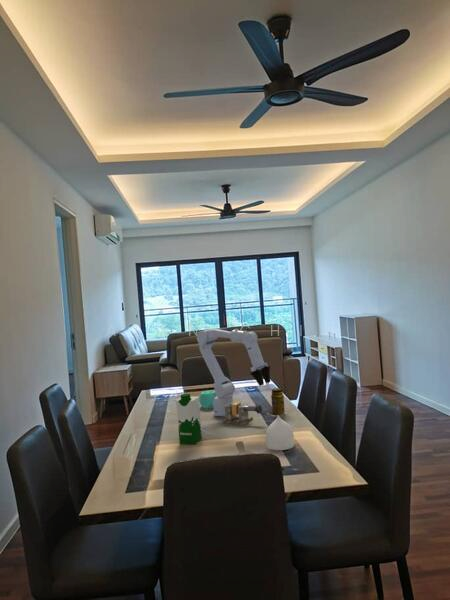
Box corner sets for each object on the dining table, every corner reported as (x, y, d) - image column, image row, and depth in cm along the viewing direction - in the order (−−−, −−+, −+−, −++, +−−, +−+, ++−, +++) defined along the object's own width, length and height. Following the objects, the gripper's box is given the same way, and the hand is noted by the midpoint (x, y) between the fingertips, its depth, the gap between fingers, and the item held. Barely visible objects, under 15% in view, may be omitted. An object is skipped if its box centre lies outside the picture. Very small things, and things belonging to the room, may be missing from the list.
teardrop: (275, 438, 178) (273, 409, 177) (299, 443, 171) (297, 412, 170) (260, 447, 169) (258, 416, 169) (284, 452, 162) (282, 420, 162)
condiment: (288, 413, 214) (286, 389, 214) (275, 417, 209) (273, 392, 209) (278, 410, 220) (277, 387, 220) (265, 414, 215) (264, 389, 215)
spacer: (232, 415, 204) (231, 404, 204) (237, 412, 209) (236, 401, 209) (236, 415, 203) (235, 404, 203) (241, 412, 208) (240, 402, 207)
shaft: (229, 412, 205) (229, 404, 205) (233, 410, 209) (233, 402, 209) (258, 414, 198) (257, 406, 198) (261, 412, 202) (261, 404, 202)
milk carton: (176, 444, 179) (173, 395, 179) (185, 437, 187) (182, 390, 187) (196, 445, 176) (192, 396, 176) (204, 438, 184) (201, 391, 184)
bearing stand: (223, 423, 204) (222, 407, 204) (233, 417, 213) (232, 402, 213) (243, 425, 199) (242, 408, 199) (252, 419, 207) (251, 403, 207)
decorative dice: (210, 409, 232) (209, 394, 232) (199, 407, 237) (198, 392, 237) (220, 405, 238) (219, 390, 238) (208, 404, 243) (207, 389, 243)
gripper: (256, 355, 200) (266, 384, 197) (268, 351, 212) (278, 378, 210) (243, 360, 203) (252, 388, 200) (256, 356, 215) (265, 382, 213)
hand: (265, 383), depth 205 cm, fingers open, 7 cm apart
